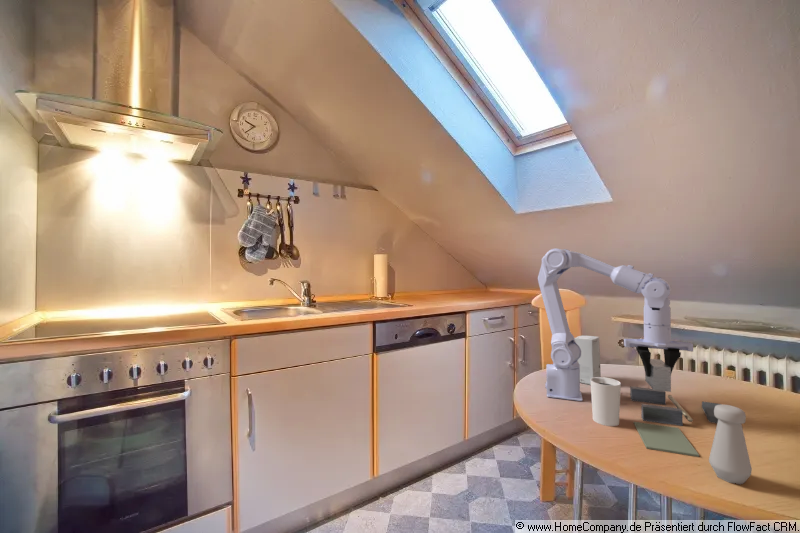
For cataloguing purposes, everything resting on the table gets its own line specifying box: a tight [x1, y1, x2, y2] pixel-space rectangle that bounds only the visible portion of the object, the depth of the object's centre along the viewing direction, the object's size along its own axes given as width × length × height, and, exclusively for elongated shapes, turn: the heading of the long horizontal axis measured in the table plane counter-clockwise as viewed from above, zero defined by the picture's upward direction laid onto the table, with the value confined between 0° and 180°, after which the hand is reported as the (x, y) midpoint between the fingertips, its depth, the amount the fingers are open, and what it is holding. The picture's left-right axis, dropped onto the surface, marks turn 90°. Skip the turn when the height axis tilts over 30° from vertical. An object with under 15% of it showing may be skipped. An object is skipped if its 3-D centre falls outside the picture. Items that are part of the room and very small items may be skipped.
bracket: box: [701, 401, 723, 424], centre depth 91 cm, size 4×11×2 cm, turn 147°
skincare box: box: [574, 334, 602, 386], centre depth 119 cm, size 8×6×15 cm
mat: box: [633, 421, 700, 458], centre depth 80 cm, size 9×13×1 cm
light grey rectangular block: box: [644, 358, 672, 393], centre depth 92 cm, size 4×8×6 cm, turn 158°
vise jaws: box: [629, 386, 694, 427], centre depth 94 cm, size 10×16×4 cm, turn 157°
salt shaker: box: [708, 404, 752, 485], centre depth 65 cm, size 6×6×13 cm
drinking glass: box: [590, 376, 622, 427], centre depth 89 cm, size 7×7×10 cm
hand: (657, 376), depth 92 cm, fingers closed on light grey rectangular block, 4 cm apart
